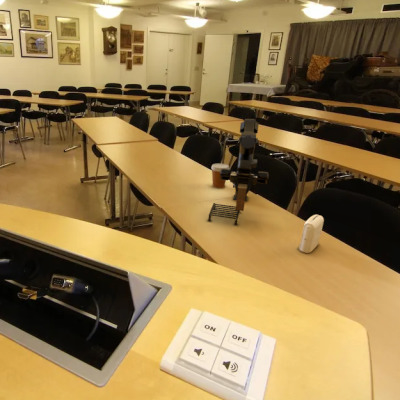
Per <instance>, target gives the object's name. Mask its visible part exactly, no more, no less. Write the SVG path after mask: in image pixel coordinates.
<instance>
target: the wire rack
mask: <svg viewBox="0 0 400 400" xmlns="http://www.w3.org/2000/svg"><path fill="white" fill-rule="evenodd" d="M240 213H241V211H238V210H236V205H235V206H234V205H227V204H220V203H216V202H213V203H212V206H211V208H210V210H209V213H208V218H207V222H211V221H212V217H219V218H224V219H225V218H226V219H233V220H234V226H238V222H239V221H238V220H239V215H240Z"/></svg>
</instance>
